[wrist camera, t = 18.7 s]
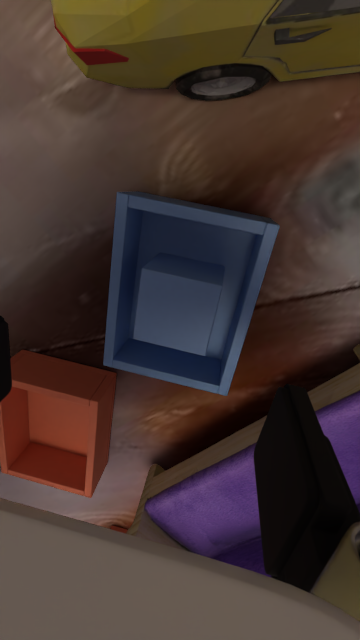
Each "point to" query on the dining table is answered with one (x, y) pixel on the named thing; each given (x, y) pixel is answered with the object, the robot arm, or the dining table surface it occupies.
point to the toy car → (209, 42)
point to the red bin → (56, 422)
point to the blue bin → (194, 243)
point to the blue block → (178, 302)
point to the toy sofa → (240, 483)
